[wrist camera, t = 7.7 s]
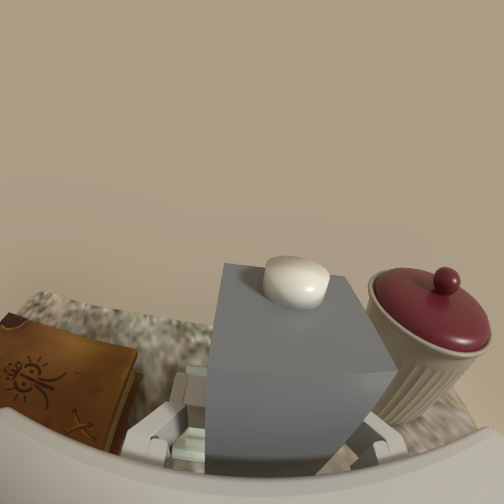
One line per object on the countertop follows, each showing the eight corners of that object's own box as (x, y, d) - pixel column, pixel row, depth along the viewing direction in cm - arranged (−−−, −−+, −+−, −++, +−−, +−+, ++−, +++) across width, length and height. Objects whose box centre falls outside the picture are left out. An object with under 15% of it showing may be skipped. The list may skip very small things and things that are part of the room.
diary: (-33, 420, 13) (-55, 393, 11) (20, 340, 30) (8, 312, 28) (108, 500, 15) (88, 486, 12) (142, 377, 32) (136, 348, 30)
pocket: (172, 457, 22) (167, 439, 20) (184, 385, 32) (183, 360, 30) (266, 465, 23) (275, 448, 21) (261, 392, 33) (268, 368, 31)
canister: (311, 359, 40) (354, 230, 31) (400, 351, 42) (448, 245, 34) (348, 460, 23) (453, 322, 15) (447, 425, 26) (531, 308, 17)
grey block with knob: (205, 496, 10) (208, 340, 5) (210, 429, 15) (226, 242, 10) (287, 499, 10) (412, 347, 5) (281, 433, 15) (350, 257, 10)
